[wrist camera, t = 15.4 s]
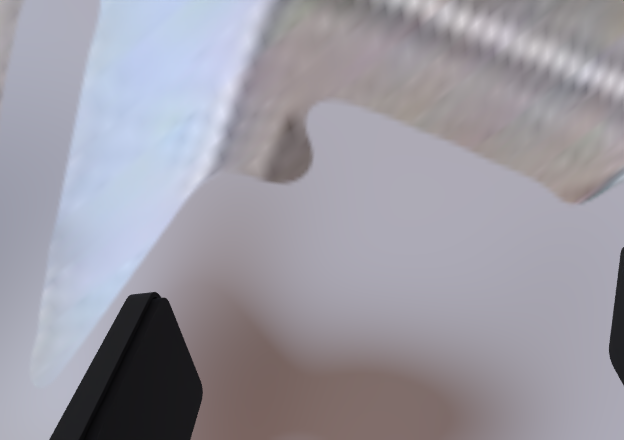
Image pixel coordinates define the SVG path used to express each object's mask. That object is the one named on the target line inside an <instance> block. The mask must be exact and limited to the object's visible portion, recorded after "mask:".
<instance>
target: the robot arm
mask: <svg viewBox="0 0 624 440" xmlns="http://www.w3.org/2000/svg"><path fill="white" fill-rule="evenodd" d="M609 354H610V359H611V362H612V365H613V367H614V369H615V371H616V372H617V374H618V376H619V378H620V380H621V381H622V383H623V385H624V247H623V248H622V250H621V255H620V263H619V271H618V280H617V287H616V296H615V303H614V311H613V320H612V328H611V335H610V343H609ZM202 394H203V391H202V384H201V381H200V379H199V376H198V373H197V371H196V368H195V366H194V364H193V361H192V358H191V356H190V353H189V351H188V348H187V346H186V343H185V341H184V338H183V336H182V333H181V331H180V328H179V326H178V323H177V321H176V318H175V316H174V313H173V311H172V308H171V306H170V303H169V301H168V300H167V299H166V298H161V297H160V295H159V294H158V293H156V292H151V293H142V294H133V295H130V296H128V298H127V299H126V301H125V303H124V305H123V306H122V308H121V310H120V312H119V314H118V315H117V317H116V319H115V321H114V323H113V325H112V326H111V328H110V330H109V332H108V334H107V336H106V337H105V339H104V341H103V343H102V345H101V346H100V348H99V350H98V352H97V354H96V355H95V357H94V359H93V361H92V363H91V365H90V366H89V368H88V370H87V372H86V374H85V376H84V377H83V379H82V381H81V383H80V385H79V386H78V389H77V390H76V392H75V394H74V396H73V397H72V399H71V401H70V403H69V405H68V407H67V408H66V410H65V412H64V414H63V416H62V418H61V419H60V421H59V423H58V425H57V427H56V428H55V430H54V433H53V434H52V436H51V438H50V440H190V439H191V435H192V432H193V429H194V425H195V421H196V418H197V414H198V411H199V408H200V404H201V401H202Z"/></svg>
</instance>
